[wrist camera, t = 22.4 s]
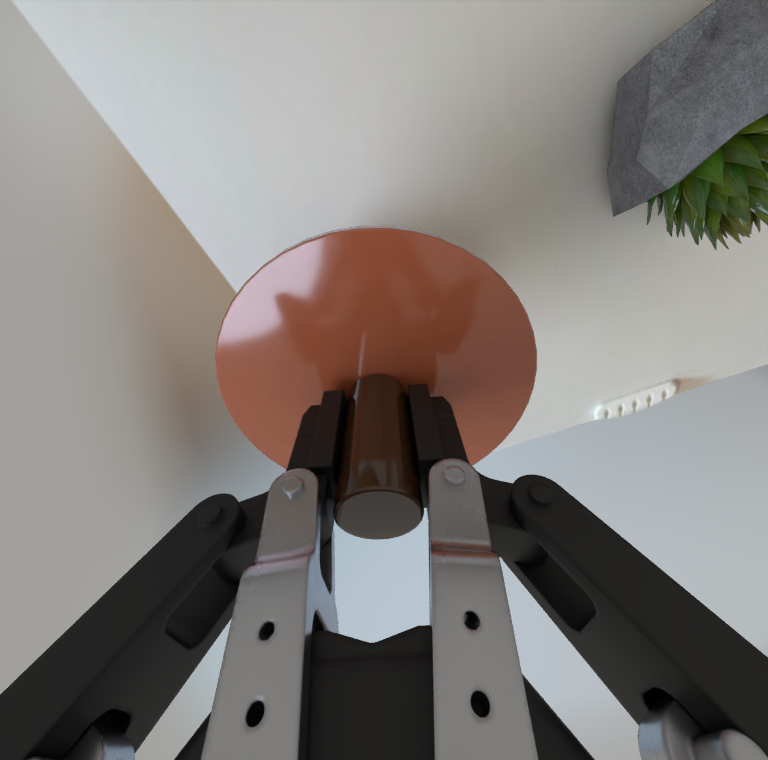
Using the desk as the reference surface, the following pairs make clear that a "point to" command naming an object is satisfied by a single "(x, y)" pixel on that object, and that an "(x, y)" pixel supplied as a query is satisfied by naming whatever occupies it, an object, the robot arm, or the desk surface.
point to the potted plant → (698, 125)
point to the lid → (375, 358)
